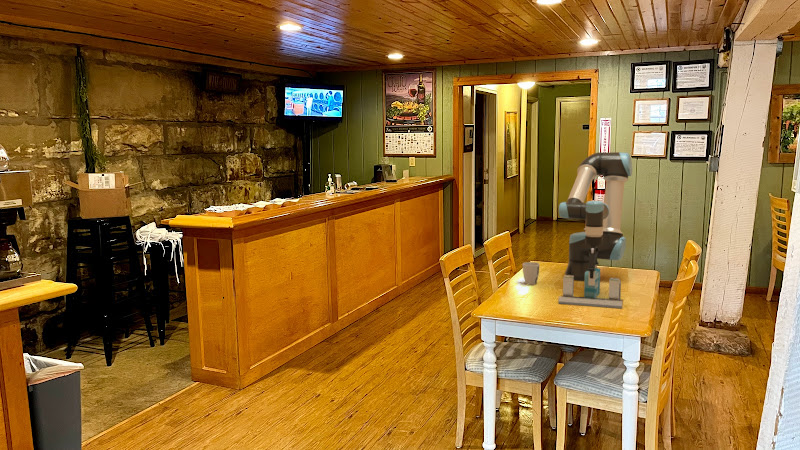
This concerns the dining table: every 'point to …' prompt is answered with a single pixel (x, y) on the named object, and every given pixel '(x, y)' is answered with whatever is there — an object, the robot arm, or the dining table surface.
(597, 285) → the data package
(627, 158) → the robot arm
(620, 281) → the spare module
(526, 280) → the cup
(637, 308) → the dining table surface
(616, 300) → the rail plate
